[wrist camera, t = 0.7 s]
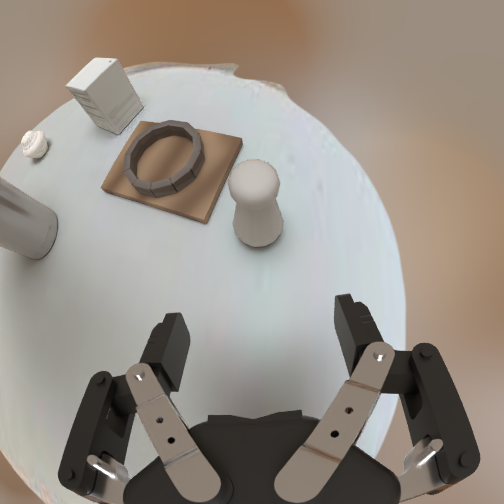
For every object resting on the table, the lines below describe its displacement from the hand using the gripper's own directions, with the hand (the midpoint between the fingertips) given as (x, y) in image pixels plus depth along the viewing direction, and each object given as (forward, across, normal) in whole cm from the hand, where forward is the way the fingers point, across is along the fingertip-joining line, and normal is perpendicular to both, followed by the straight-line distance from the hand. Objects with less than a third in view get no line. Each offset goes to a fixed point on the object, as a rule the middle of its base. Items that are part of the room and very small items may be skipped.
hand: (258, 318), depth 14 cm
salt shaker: (+21, 0, +4) cm, 21 cm away
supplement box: (+37, +23, -16) cm, 46 cm away
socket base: (+28, +12, -5) cm, 31 cm away
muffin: (+35, +44, -16) cm, 58 cm away
